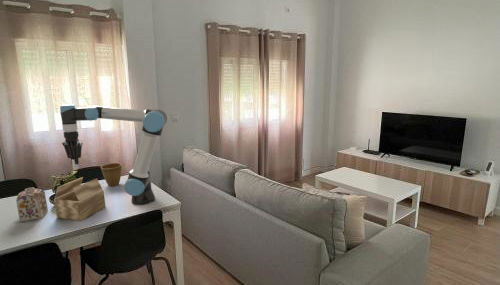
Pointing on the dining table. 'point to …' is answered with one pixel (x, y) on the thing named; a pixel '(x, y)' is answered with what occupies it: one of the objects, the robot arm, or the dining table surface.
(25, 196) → the decorative jar
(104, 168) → the plant pot
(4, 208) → the dining table surface
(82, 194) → the near flap
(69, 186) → the far flap
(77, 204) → the carton
